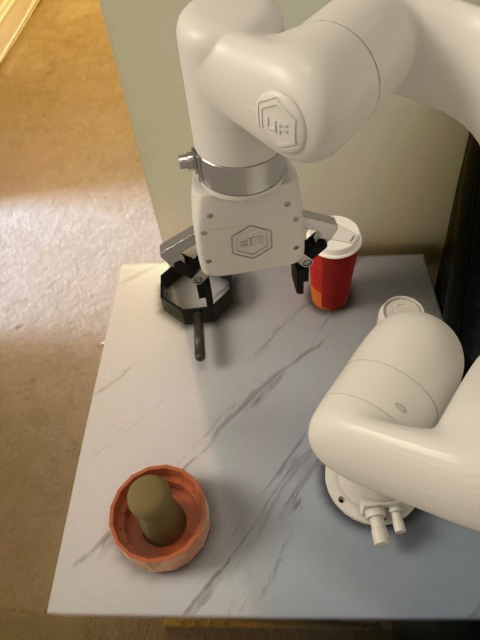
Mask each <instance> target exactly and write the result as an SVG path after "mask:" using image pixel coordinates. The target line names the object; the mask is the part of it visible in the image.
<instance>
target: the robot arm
mask: <svg viewBox="0 0 480 640" xmlns="http://www.w3.org/2000/svg"><path fill="white" fill-rule="evenodd" d="M175 35H176V44H177V51H178V56H179V63H180V68H181V74H182V75H181V76H182V80H183V86H184V92H185V98H186V99H185V100H186V104H187V110H188V111H187V112H188V116H189V118H188V119H189V123H190V129H191V135H192V141H193V146H191V147H190V150H191V151H187V152H186V153H183V154H178V155H177V158H178V164H179V169H180V172H185V171H189V172H190V173H191V172H192V176H191V177H192V178H191V187H190V188H191V189H190V190H191V191H190V193H191V194H190V195H191V196H190V202H191V218H192V225H191V226H189V227H187V228H185V229H184V230H182V231H181V232H179V233H177V234H176V235H174V236H171V237H170V238H169V239H167V240H165V241H163V242H162V243H161V244H160V245H159V255H160V258H161V259H162V260H163V261H164V262H166V263H167V264H168V265H169V266H170V267H171V266H173V267H174V270H175V271H176V272H177V273H180V274H182V276H184V277H186V278H189V279H191V283H192V284H193V285H195V287H196V291H197V295H198V299H199V300H201V299H205V302H206V307H207V308H208V309H211V308H212V307H214V303H215V302H214V298H213V297H214V296H213V291H212V283H211V279H210V276H211V277H220V276H225V275H231V276H232V275H238V274H244V273H245V274H246V273H251V272H258V271H264V270H269V269H276V268H282V267H287V266H290V267H291V269H290V271H291V278H292V282H293V285H294V290H295V293H296V294H298V295H303V294H304V293H305V291H304V290H305V283H306V282H307V283H308V282H309V280H310V266H311V265H312V264H313V259H314V258H315V257H316V256H317V255H319V254H320V253H321V252H322V251H323V250H325V249H326V248H327V243H328V241H329V240H331V238H332V237H333V235H334V234H335V233H336V231H337V230H338V226H337V223H336V220H335V218H334V217H331V216H332V215H327V214H323V213H319V212H315V211H311V210H307V209H303V202H302V194H301V187H300V182H299V178H298V174H297V170H296V168H295V165H294V164H293V162H292V161H294V162H298V163H302V164H314V163H318V162H321V161H322V162H323V161H324V160H326V159H328V158H330V157H332V156H333V155H335V154H336V153H337V152H338V151H340V150H341V149H342V147H344V146H345V145H346V143H348V141H349V140H350V139H351V138H352V137H353V136H355V134H356V133H357V132H358V131H359V130H360V129H361V128H362V127H363V126H364V124H365V123H366V122H367V121H369V120H370V119H371V118H372V117H373V116H374V115H375V114H376V112H377V111H378V110H379V109H380V108H381V107H382V106H383V105H384V104H385V103H387V101H388V100H389V99H390V97H392V95H397V96H400V97H403V98H405V99H406V98H407V99H409V100H412V101H415V102H418V103H421V104H423V105H426V106H429V107H431V108H433V109H436V110H439V111H441V112H443V113H444V114H446V115H448V116H450V117H451V118H453V119H454V120H456V121H457V122H458V123H460V124H461V125H463V127H464V128H466V130H467V131H468V132H469V133H471V135H472V136H473V138H474V139H475V140H476V142H477V143H478V145H479V146H480V5H478V4H474V3H472V2H470V1H469V2H468V1H465V0H331V1H329V2H328V3H326V4H325V5H324V6H322V7H321V8H320V9H319V10H317V12H314V14H313V15H311V16H310V17H309V18H307V19H306V20H305V21H304V22H302V23H301V24H300V25H297V26H295V27H294V26H293V27H292V28H289V29H287V30H285V22H284V18H283V14H282V11H281V9H280V7H279V6H278V4H277V3H276V2H275V1H274V0H191V1H190V2H189V3H188V4H187V5H185V6H184V7H183V9H182V10H181V12H180V14H179V15H178V19H177V21H176V27H175ZM305 229H306V230H309V229H310V230H314V231H316V232H314V233H313V234H312V235H311V236H310V237H308V238H307V239H305ZM194 246H195V247H196V248H195V249H196V252H195V253H194V255H192V256H189V255H187V254H185V253H184V252H185V251H187V250H189V249H190V248H192V247H194ZM191 257H192V258H191ZM376 324H377V323H376ZM376 324H375V326H374V327H373V328H372V329H370V331H369V332H368V334H367V335H366V336H365V338H364V339H363V340H362V341H361V343H360V344H359V346H358V347H357V348H356V350H355V351H354V352H353V354H352V355H351V357H350V358H349V360H348V361H347V363H346V364H345V366H344V367H343V369H342V371H341V372H340V374H339V375H338V377H337V378H336V379H335V381H334V382H333V383H332V385H331V386H330V388H329V389H328V390H327V392H326V394H325V395H324V396H323V398H322V399H321V401H320V402H319V404H318V405H317V407H316V408H315V411H314V412H313V414H312V415H311V419H310V421H309V424H308V429H307V430H308V431H307V432H308V433H307V434H308V435H307V436H308V437H307V438H308V442H309V445H310V449H311V450H312V452H313V453H314V455H315V456H316V458H317V459H318V460H319V461H320V462H321V463H322V464H323V465H324V466H325V468H324V470H325V471H324V478H325V479H324V480H325V485H326V488H327V489H326V490H327V492H328V494H329V496H330V498H331V500H332V502H333V503H334V504H335V506H336V507H337V508H338V509H339V510H340V511H341V512H342V513H343V514H344V515H346V516H347V517H349V518H351V519H352V520H354V521H356V522H359V523H361V524H364V525H368V526H370V529H371V530H370V533H371V536H372V541H373V545H374V547H375V548H381V547H387V546H389V545H391V540H390V536H389V532H388V528H387V526H389V525H392V526H393V531H394V533H395V534H396V535H400V534H405V533H407V528H406V525H405V521H404V519H405V518H406V517H408V516H409V515H410V514H411V513H412V512H413V511H414V510H415V508H416V509H418V510H420V511H423V512H425V513H428V514H431V515H433V516H436V517H438V518H440V519H443V520H446V521H448V522H451V523H453V524H456V525H459V526H461V527H464V528H467V529H470V530H474V531H476V532H480V355H478V356H477V357H476V359H475V361H474V362H473V363H472V365H471V366H470V368H469V369H468V371H467V372H466V374H465V375H464V370H465V353H464V350H463V346H462V343H461V341H460V339H459V337H458V336H457V334H456V332H455V331H454V330H453V329H452V328H451V326H449V325H448V324H447V323H446V322H445V321H443V320H442V319H440V318H439V317H436V316H435V315H433V314H431V313H429V312H425V311H424V312H420V311H403V312H399V313H395V314H393V315H390V316H388V317H387V318H385V319H383V320H382V321H381V322H379V323H378V324H377V325H376ZM463 376H464V377H463ZM462 378H463V379H462ZM341 501H342V502H341Z"/></svg>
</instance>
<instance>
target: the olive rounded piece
mask: <svg viewBox="0 0 480 640" xmlns="http://www.w3.org/2000/svg"><path fill="white" fill-rule="evenodd" d="M127 503H128V507H129V509H130V511H131V512H132V513H133V515H134V516H136V517H137V518H138V519H139V523H140V527H141V531H142V534H143V537H144V538H145V539H146V541H147V542H149V543H150V544H152V545H153V546H158V547H164V546H169V545H171V544H173V543H175V542H176V541H177V540H179V539H180V538H181V536H182V535H183V533H184V531H185V528H186V525H187V518H186V514H185V511H184V509H183V508H182V507H181V506H180V505H179V504H178V503H177V502H176V501H175V500H174V499H173V497H172V492H171V489H170V486H169V484H168V483H167V482H166V481H165V479H163V478H161V477H159V476H158V475H152V474H150V475H144V476H142V477H140V478H138V479H137V480H136V481H134V482H133V484H132V485H131V487H130V488H129V491H128V494H127Z"/></svg>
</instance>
